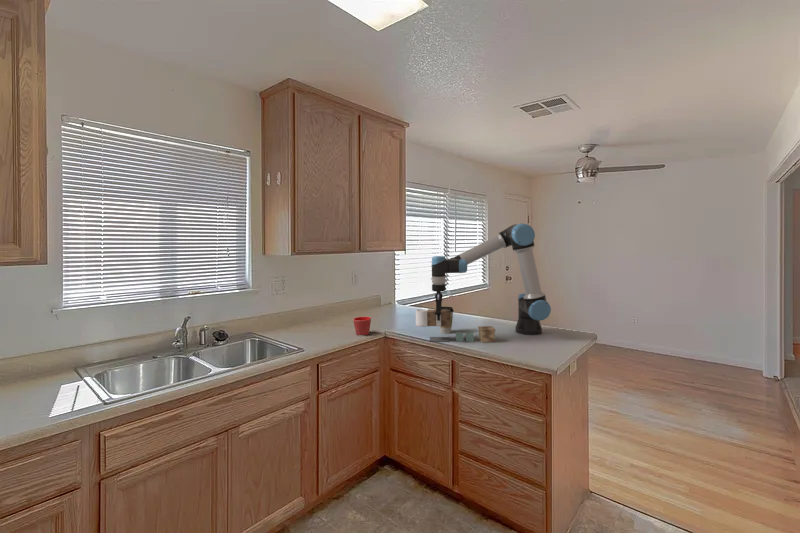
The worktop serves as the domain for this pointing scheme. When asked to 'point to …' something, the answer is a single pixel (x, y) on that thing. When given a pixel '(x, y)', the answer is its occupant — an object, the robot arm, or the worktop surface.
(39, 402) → the worktop surface
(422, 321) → the cup
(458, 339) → the cube
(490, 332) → the oak box
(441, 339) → the mat
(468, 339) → the cube
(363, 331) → the flower pot
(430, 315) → the brown wooden box
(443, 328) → the coffee cup
